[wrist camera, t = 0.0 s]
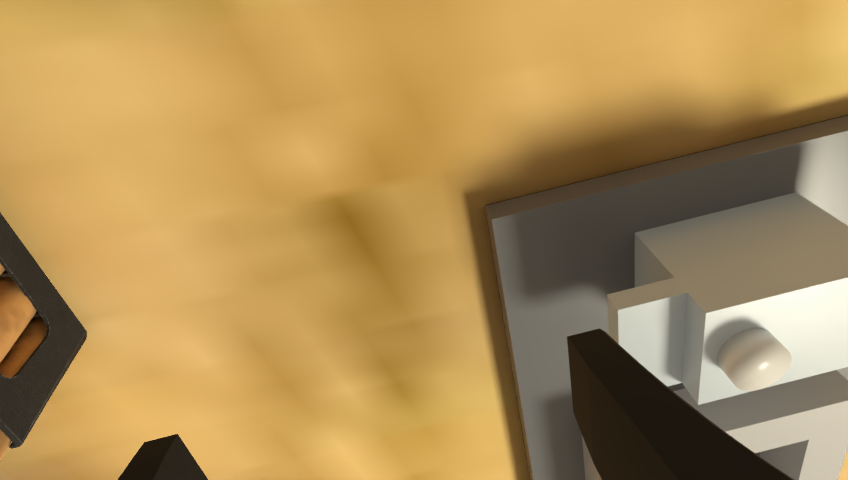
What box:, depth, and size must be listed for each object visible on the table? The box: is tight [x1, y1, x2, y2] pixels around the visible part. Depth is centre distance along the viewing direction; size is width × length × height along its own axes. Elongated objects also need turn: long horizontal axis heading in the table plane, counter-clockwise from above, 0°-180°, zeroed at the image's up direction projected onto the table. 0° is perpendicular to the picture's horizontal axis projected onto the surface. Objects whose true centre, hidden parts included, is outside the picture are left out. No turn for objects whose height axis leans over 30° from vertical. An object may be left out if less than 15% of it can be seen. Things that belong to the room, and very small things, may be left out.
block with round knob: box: [607, 192, 848, 405], centre depth 19 cm, size 4×10×5 cm, turn 102°
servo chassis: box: [485, 115, 848, 480], centre depth 24 cm, size 20×16×4 cm
